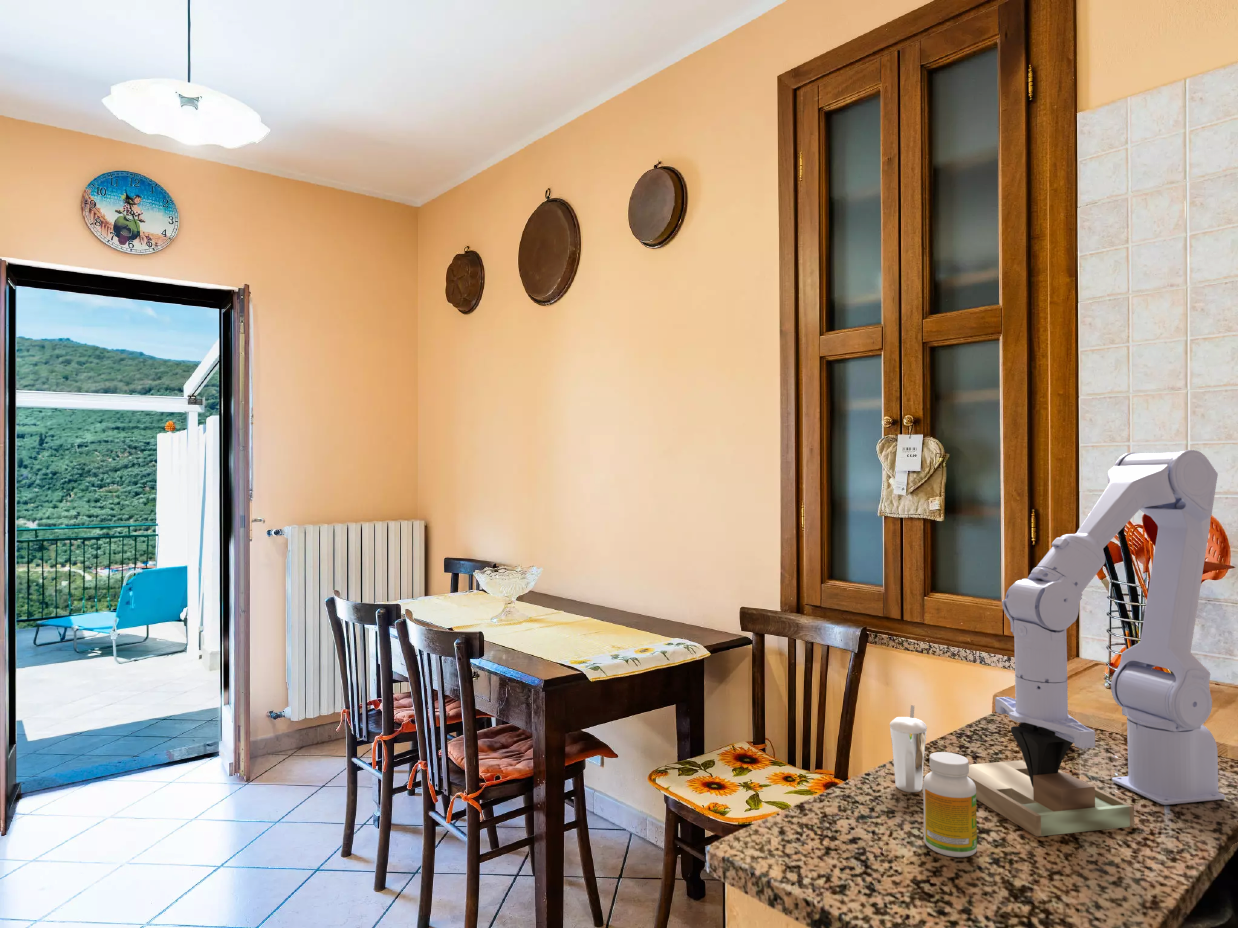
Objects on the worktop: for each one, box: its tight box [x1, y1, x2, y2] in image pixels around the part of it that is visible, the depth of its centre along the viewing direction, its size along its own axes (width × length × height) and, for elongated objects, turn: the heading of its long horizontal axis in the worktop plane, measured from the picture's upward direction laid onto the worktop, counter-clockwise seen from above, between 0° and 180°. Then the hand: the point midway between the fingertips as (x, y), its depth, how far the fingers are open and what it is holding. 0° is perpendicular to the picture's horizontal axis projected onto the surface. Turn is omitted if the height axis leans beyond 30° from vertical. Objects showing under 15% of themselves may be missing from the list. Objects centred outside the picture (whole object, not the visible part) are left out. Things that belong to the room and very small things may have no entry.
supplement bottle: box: [922, 751, 978, 858], centre depth 84 cm, size 5×5×10 cm
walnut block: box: [1033, 772, 1096, 812], centre depth 91 cm, size 4×4×3 cm
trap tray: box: [967, 753, 1135, 837], centre depth 96 cm, size 13×18×2 cm
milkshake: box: [889, 704, 928, 793], centre depth 101 cm, size 5×5×10 cm
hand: (1042, 787), depth 95 cm, fingers closed
